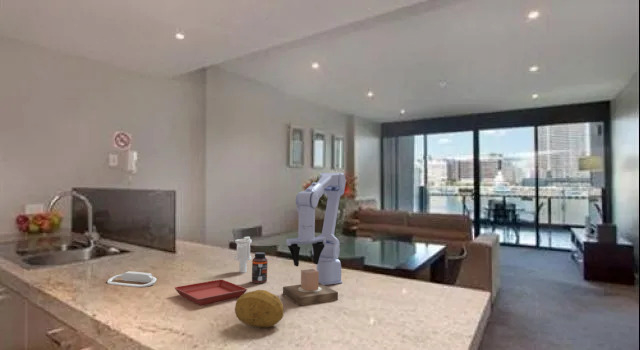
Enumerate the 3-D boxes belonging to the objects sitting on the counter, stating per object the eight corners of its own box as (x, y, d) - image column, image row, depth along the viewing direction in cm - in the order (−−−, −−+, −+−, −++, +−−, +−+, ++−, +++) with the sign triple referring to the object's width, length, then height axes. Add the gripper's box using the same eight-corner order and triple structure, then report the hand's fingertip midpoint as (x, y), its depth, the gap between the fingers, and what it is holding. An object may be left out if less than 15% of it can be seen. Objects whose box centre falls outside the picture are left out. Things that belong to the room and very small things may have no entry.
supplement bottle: (264, 284, 140) (264, 254, 141) (249, 283, 142) (249, 253, 142) (269, 280, 146) (269, 251, 147) (255, 279, 147) (255, 251, 148)
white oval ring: (103, 288, 139) (101, 279, 138) (120, 277, 147) (118, 269, 146) (147, 292, 134) (145, 283, 133) (162, 281, 141) (160, 272, 140)
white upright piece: (254, 271, 161) (255, 237, 162) (243, 274, 155) (243, 238, 156) (242, 269, 165) (243, 235, 166) (231, 272, 159) (231, 237, 160)
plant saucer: (221, 287, 137) (221, 278, 137) (248, 298, 124) (248, 288, 124) (173, 297, 124) (173, 287, 125) (197, 310, 112) (197, 299, 112)
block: (312, 286, 129) (312, 268, 129) (318, 289, 125) (318, 271, 125) (300, 287, 127) (301, 270, 127) (306, 291, 123) (306, 272, 123)
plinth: (318, 289, 135) (318, 281, 135) (337, 299, 123) (337, 291, 123) (282, 293, 128) (282, 286, 128) (299, 305, 116) (300, 296, 116)
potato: (275, 298, 93) (286, 285, 102) (227, 297, 96) (242, 284, 105) (277, 335, 93) (288, 318, 102) (229, 332, 96) (244, 316, 105)
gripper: (292, 227, 121) (292, 269, 121) (330, 225, 129) (329, 264, 128) (284, 225, 128) (283, 264, 127) (320, 223, 135) (320, 261, 134)
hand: (306, 264), depth 128 cm, fingers open, 7 cm apart
